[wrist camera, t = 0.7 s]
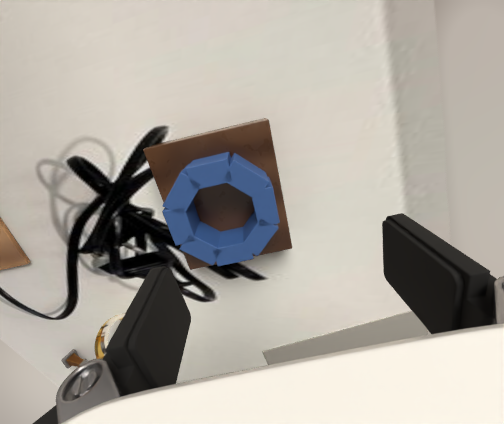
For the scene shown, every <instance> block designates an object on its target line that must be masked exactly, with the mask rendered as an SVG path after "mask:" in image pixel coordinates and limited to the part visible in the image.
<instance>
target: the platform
mask: <svg viewBox="0 0 504 424" xmlns="http://www.w3.org/2000/svg"><path fill="white" fill-rule="evenodd" d="M143 150H144V153H145V155H146V158H147V160H148V163H149V166H150V168H151V171H152V173H153V176H154V178H155V181H156V184H157V186H158V189H159V191H160V194H161V196H162V199H163V202H165V200H166V198H167V196H168V194H169V193H170V191H171V189H172V187H173V185H174V183H175V181H176V180H177V178H178V176H179V174H180V172H181V171H182V170H183V169H184V168H185V167H186V166H187V165H188V164H190V163H191V162H192V161H193V160H196V159H200V158H205V157H209V156H213V155H217V154H222V153H226V152H229V153H230V156H231V158H232V156H233V154H234V153H236V154H238V155H239V156H241V157H242V158H244V159H246V160H247V161H249V162H250V163H252V164H254V165H255V166H257V167H258V168H260V169H262V170H263V171H265V172H266V174H267V177H269V178H270V181H271V184H272V186H273V190H274V195H275V200H276V205H277V210H278V215H279V220H280V223H277V224H278V230H277V231H276V232H275V234H274V235H273V236H272V238H271V239H270V240H269V242H268V243H267V244H266V246H265V247H264V248H263V250H262V251H261V252H260V254H259V255H263V254H268V253H272V252H277V251H282V250H287V249H291V248H292V244H291V238H290V233H289V227H288V222H287V217H286V211H285V206H284V200H283V195H282V190H281V184H280V179H279V173H278V168H277V162H276V157H275V152H274V146H273V141H272V135H271V130H270V125H269V120H268V119H266V118H264V119H259V120H255V121H251V122H247V123H243V124H239V125H234V126H230V127H226V128H222V129H218V130H214V131H209V132H205V133H201V134H197V135H193V136H189V137H184V138H180V139H176V140H172V141H168V142H163V143H159V144H155V145H152V146H150V147H148V148H145V149H143ZM193 201H194V204H195V207H196V210H197V213H198V216H199V219H200V221H201V222H203V223H205V224H207V225H209V226H211V227H213V228H215V229H217V230H218V231H220V232H221V231H226V230H230V229H235V228H239V227H243V226H244V225H245V223H246V222H247V220H248V219H249V217H250V216H251V215H252V213H253V212H254V210H255V209H254V205H253V201H252V197H250V196H248V195H247V194H245V193H243V192H242V191H240V190H238V189H237V188H235V187H233V186H231V185H230V184H228V183H224V184H220V185H216V186H211V187H207V188H203V189H199V190H198V192H197V194H196V195H195V197H194V199H193ZM181 245H182V244H181ZM183 253H184V255H185V258H186V261H187V263H188V266H189V268H190V270H192V269H196V268H201V267H206V266H211V265H210V264H208V263H206V262H204V261H202V260H200V259H198V258H196V257H194V256H192V255H190V254H188V253H186V252H184V251H183ZM253 256H257V255H255V254H253ZM215 264H217V262H215V263H214V265H215Z"/></svg>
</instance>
